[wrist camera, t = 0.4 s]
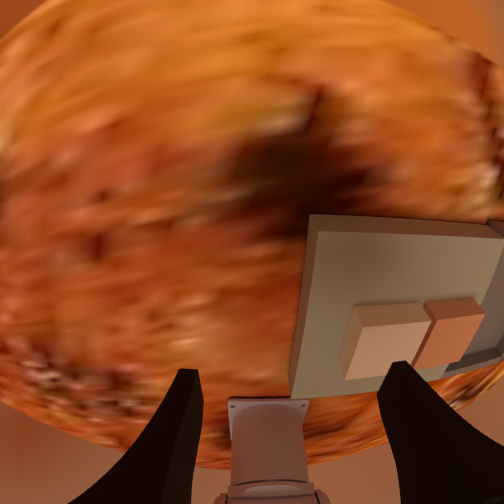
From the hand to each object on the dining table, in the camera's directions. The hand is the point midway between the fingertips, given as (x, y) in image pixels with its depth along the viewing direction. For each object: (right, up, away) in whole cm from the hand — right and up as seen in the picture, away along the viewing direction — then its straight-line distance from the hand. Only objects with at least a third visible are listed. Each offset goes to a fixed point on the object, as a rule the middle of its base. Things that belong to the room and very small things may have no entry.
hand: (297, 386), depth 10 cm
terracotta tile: (+13, -1, +9) cm, 16 cm away
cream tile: (+7, -1, +9) cm, 12 cm away
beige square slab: (+9, 0, +11) cm, 14 cm away
